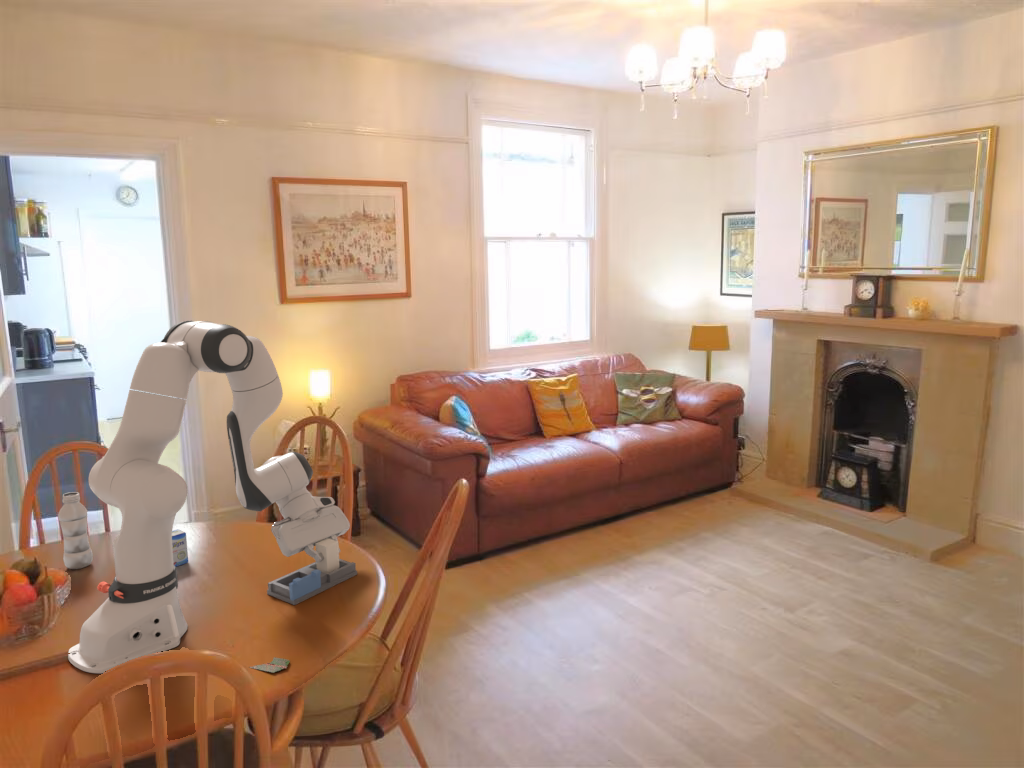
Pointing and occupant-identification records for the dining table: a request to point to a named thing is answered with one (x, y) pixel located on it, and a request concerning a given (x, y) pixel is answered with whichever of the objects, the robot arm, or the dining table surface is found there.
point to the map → (273, 665)
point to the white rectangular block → (328, 555)
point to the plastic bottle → (74, 532)
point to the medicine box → (179, 547)
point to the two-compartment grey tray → (309, 582)
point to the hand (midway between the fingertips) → (329, 557)
